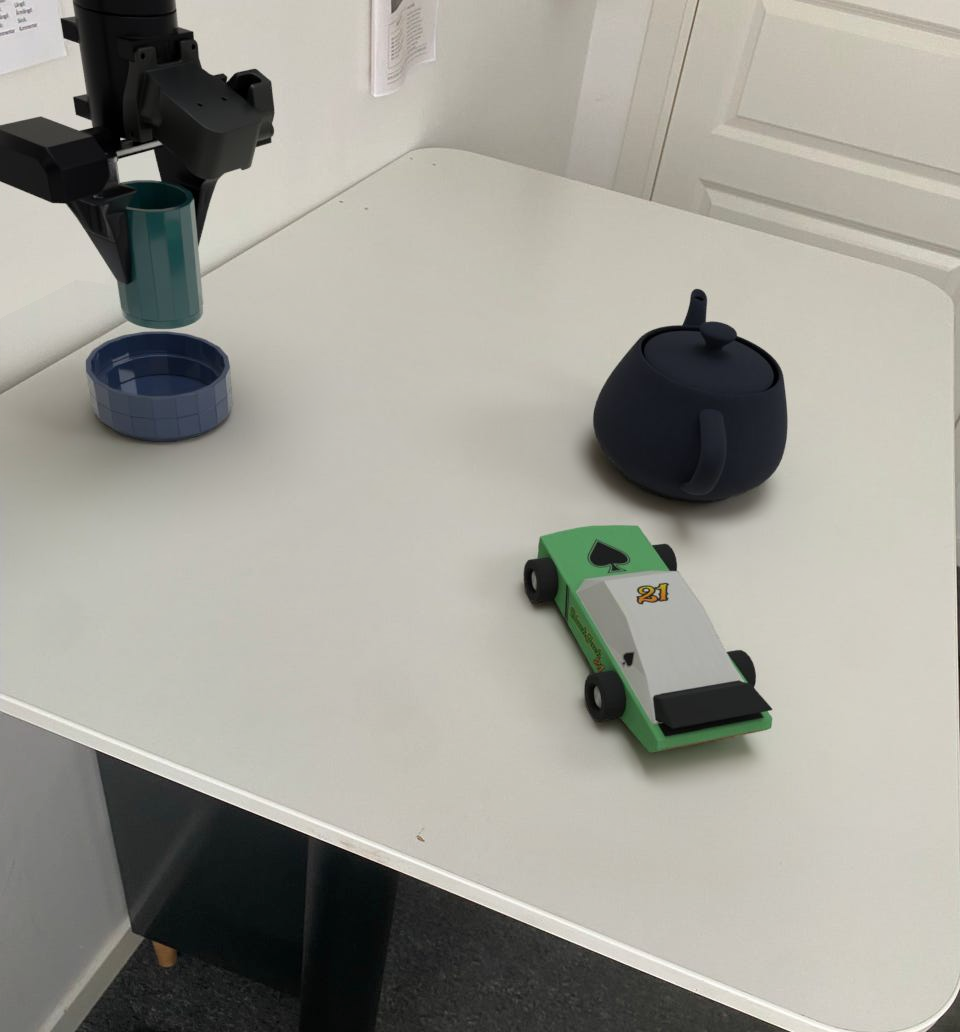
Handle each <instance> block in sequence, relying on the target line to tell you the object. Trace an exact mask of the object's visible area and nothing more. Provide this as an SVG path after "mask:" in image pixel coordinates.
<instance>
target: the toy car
mask: <svg viewBox="0 0 960 1032" xmlns="http://www.w3.org/2000/svg"><path fill="white" fill-rule="evenodd" d="M537 549H538V550H537V558H531V559H527V561H525V563H524V566H523V584H524V589H525V593H526V595H527V597H528V599H529V600H530V601H531V602H533V603H536V602H544V601H552V600H553V601H554V602H555V604H556V605H557V608H558V609H559V611H560V613H561V614H562V616H563V618H564V620H565V621H566V623H567V625H568V627H569V629H570V631H571V632H572V635H573V636H574V638H575V639H576V642H577V643H578V645H579V648H580V649H581V650H582V652H583V654H584V656H585V658H586V660H587V661H588V663H589V665H590V667H591V669H592V670H593V673H589V674H588V675H587V677H586V679H585V681H584V687H583V688H584V689H583V690H584V701H585V705H586V708H587V711H588V713H589V714H590V716H591V717H592V718H593V719H594V720H595V721H596V722H604V721H609V720H615V719H616V720H617V719H620V720H621V721H622V722H623V723H624V725H625V726H626V727H627V728H628V729H629V731H630V732H631V733H632V734H633V735H634V737H636V739H637V740H638V741H639V743H641V745H642V746H643V747H644V748H645V749H646V750H647V752H648V753H650V754H651V753H657V752H661V751H666V750H673V749H676V748H677V749H678V748H682V747H687V746H692V745H698V744H702V743H708V742H712V741H717V740H723V739H729V738H734V737H738V736H739V737H740V736H743V735H745V736H746V735H750V734H755V733H760V732H765V731H767V730H770V729H772V726H773V717H772V715H771V713H770V712H769V711H773V708H772V707H771V705H770V704H769V703H768V702H767V701H766V699H764V697H763V696H762V695H761V694H760V693H759V692H758V690H757V689H756V688H755V686H756V682H757V673H756V667H755V664H754V662H753V660H752V658H751V656H750V655H749V654H748V653H747V652H746V651H744V650H742V649H735V650H728V651H727V650H726V648H725V646H724V645H723V642H722V640H721V639H720V637H719V635H718V633H717V631H716V629H715V627H714V625H713V623H712V621H711V619H710V617H709V615H708V613H707V611H706V609H705V607H704V605H703V604H702V603H701V601H700V600H699V598H698V597H697V596H696V594H695V593H694V591H693V590H692V588H691V587H690V585H689V584H688V583H687V580H686V579H684V577H683V576H682V574H681V573H680V571H679V570H678V562H677V561H678V560H677V555H676V553H675V551H674V550H673V547H671V546H670V545H669V544H667V543H660V544H659V543H657V544H652V543H651V542H650V540H649V539H648V537H647V536H646V535H645V533H644V532H643V531H642V529H641V528H640V526H639V525H625V524H624V525H622V524H621V525H620V524H617V525H616V524H614V525H613V524H611V525H610V524H609V525H588V526H587V525H586V526H579V527H574V528H569V529H564V530H560V531H557V532H551V533H548V534H544V535H540V536H539V539H538V547H537Z"/></svg>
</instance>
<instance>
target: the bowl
mask: <svg viewBox="0 0 960 1032" xmlns="http://www.w3.org/2000/svg"><path fill="white" fill-rule="evenodd" d="M85 375H86V380H87V385H88V391H89V396H90V402H91V406H92V407H91V408H92V411H93V413H94V414H95V416H96V417H97V418H98V419H99V421H100V422H101V423H103V424H104V425H106V426H108V427H110V428H111V429H112V430H113V431H115V432H117V433H119V434H121V435H123V436H126V437H129V438H133V439H136V440H141V441H147V442H148V441H149V442H175V441H181V440H182V441H183V440H188V439H191V438H194V437H198V436H201V435H203V434H206V433H207V432H210V431H211V430H213V429H214V428H216V427H217V426H218V425H220V423H221V422H223V421H224V420H225V419H226V418H227V417H228V416H229V413H230V411H231V409H232V407H233V404H234V402H233V386H232V372H231V363H230V358H229V356H228V355H227V353H226V352H225V351H224V350H223V349H222V347H220V346H219V345H217V344H215V343H213V342H211V341H210V340H208V339H205V338H204V337H199V336H196V335H192V334H189V333H184V332H176V331H168V330H167V331H166V330H163V331H162V330H160V331H159V330H158V331H155V330H154V331H141V332H133V333H128V334H122V335H120V336H117V337H115V338H112V339H108V340H106V341H104V342H103V343H101V344H100V345H98V346H96V347H94V348H93V349H92V351H90V353H89V355H88V356H87V357H86V359H85Z"/></svg>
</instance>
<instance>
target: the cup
mask: <svg viewBox="0 0 960 1032" xmlns="http://www.w3.org/2000/svg"><path fill="white" fill-rule="evenodd" d="M120 183H122V184H124V185H127V186H130V187H132V188H135V189H137V192H136V194H135V195H134V197H133V198H132V200H131V201H130V203H129V204H128V205H127V207H126V220H127V228H128V237H129V245H130V254H131V262H132V282H131V283H129V284H124V283H121V282H119V281H118V280H116V279H115V280H116V286H117V287H116V288H117V293H118V299H119V305H120V311H121V314H122V316H123V318H124V319H125V320H126V321H128V322H129V323H131V324H133V325H135V326H138V327H142V328H145V329H146V328H147V329H153V330H172V329H173V330H174V329H180V328H184V327H187V326H190V325H193V324H194V323H196V322H198V321H199V320H200V319H201V318H202V317H203V315H204V299H203V297H204V296H203V286H202V274H201V263H200V252H199V251H200V250H199V247H198V239H197V228H196V217H195V205H194V198H193V195H192V193H191V192H190V191H189V190H187V189H185V188H184V187H182V186H179V185H176V184H172V183H168V182H162V181H161V180H155V179H153V180H152V179H147V180H145V179H135V180H127V181H120Z"/></svg>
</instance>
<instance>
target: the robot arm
mask: <svg viewBox="0 0 960 1032" xmlns="http://www.w3.org/2000/svg"><path fill="white" fill-rule="evenodd" d="M72 7H73V13H74V16H68V17H61V18H59V19H60V26H61V31H62V32H61V33H62V38H63V39H64V40H68V41H70V42H73V43H77V44H78V46H79V52H80V59H81V66H82V73H83V78H84V85H85V92H86V93H85V94H81V95H76V96H72V99H73V105H74V106H73V107H74V113H75V115H76V116H78V117H81V118H84V119H86V120H89V121H91V127H88V128H85V129H80V130H78V129H76V128H73V127H71V126H68V125H65V124H63V123H60V122H57V121H54V120H52V119H49V118H47V117H44V116H36V117H31V118H26V119H23V120H18V121H12V122H9V123H4V124H0V183H3V184H5V185H7V186H10V187H13V188H15V189H17V190H20V191H23V192H25V193H27V194H29V195H32V196H34V197H36V198H39V199H42V200H44V201H47V202H48V203H51V204H62V205H63V204H65V205H66V206H67V208H68V209H69V210H70V212H71V213H72V214H73V215H74V216H75V218H76V219H77V221H78V223H79V224H80V225H81V227H82V228H83V231H85V233H86V234H87V236H88V238H89V239H90V241H91V242H92V245H94V247H95V248H96V250H97V252H98V253H99V255H100V257H101V258H102V260H103V261H104V263H105V264H106V266H107V268H108V269H109V271H110V272H111V274H112V275H113V277H114V278H115V280H118V281H119V282H121V283H124V284H129V283H131V282H132V262H131V254H130V245H129V237H128V228H127V220H126V207H127V205H128V204H129V203H130V201H131V200H132V198H133V197H134V195H135V194H136V192H137V189H135V188H132V187H130V186H127V185H124V184H122V183H121V181H120V175H119V167H118V162H119V160H120V159H124V158H127V157H131V156H135V155H139V154H143V153H146V152H150V151H153V152H154V157H155V162H156V165H157V170H158V173H159V177H160V181H162V182H168V183H172V184H176V185H179V186H182V187H184V188H185V189H187V190H189V191H190V192H191V193H192V195H193V198H194V205H195V217H196V228H197V239H198V248H200V247H199V246H200V242H201V239H202V235H203V231H204V227H205V224H206V220H207V215H208V211H209V207H210V205H211V204H210V203H211V201H212V197H213V194H214V191H215V188H216V186H217V183H218V181H219V180H220V178H221V177H222V176H224V175H225V174H227V173H230V172H234V171H236V170H241V171H246V170H248V169H250V168H252V164H253V160H254V156H255V151H256V148H258V147H262V146H265V145H269V144H272V137H274V134H275V127H274V125H273V122H274V118H275V113H276V112H275V102H274V93H273V84H272V81H271V79H270V78H268V77H267V76H265V75H264V74H263V73H262V72H261V71H260V70H259V69H257V68H250V69H245V70H242V71H237V72H235V73H234V74H233V75H232V76H231V77H230V78H229V77H228V76H227V75H226V74H225V73H218V74H211V73H209V72H208V71H207V70H206V69H204V68H203V65H202V63H201V60H200V53H199V44H198V42H197V40H195V35H194V34H195V33H194V31H193V30H190V29H186V28H183V27H180V26H179V24H178V23H179V22H178V10H177V3H176V0H72Z"/></svg>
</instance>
